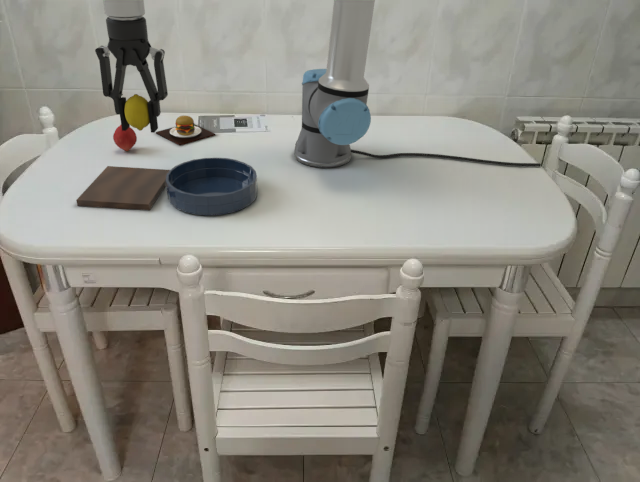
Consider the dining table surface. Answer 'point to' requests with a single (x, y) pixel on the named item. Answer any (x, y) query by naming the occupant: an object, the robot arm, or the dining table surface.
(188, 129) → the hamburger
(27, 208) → the dining table surface
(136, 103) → the lemon
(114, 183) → the board
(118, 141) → the onion
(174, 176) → the bowl
